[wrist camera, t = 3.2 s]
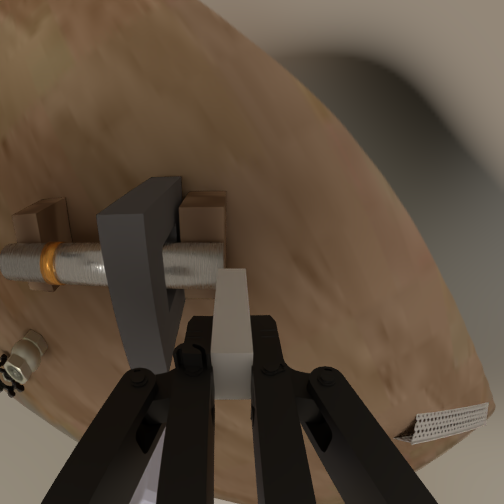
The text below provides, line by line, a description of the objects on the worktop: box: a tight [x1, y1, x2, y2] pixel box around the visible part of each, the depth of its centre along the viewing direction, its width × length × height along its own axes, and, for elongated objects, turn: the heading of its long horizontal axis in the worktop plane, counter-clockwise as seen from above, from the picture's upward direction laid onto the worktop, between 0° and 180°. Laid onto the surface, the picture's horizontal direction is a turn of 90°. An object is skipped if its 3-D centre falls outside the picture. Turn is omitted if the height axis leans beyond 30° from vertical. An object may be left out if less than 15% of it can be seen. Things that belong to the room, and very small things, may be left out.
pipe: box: [0, 242, 224, 289], centre depth 19 cm, size 18×3×3 cm, turn 88°
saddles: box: [12, 191, 226, 299], centre depth 22 cm, size 18×7×5 cm, turn 88°
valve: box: [0, 330, 48, 398], centre depth 27 cm, size 7×7×12 cm
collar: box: [96, 176, 185, 374], centre depth 19 cm, size 2×10×10 cm, turn 178°
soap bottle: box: [129, 427, 166, 504], centre depth 25 cm, size 9×7×23 cm
